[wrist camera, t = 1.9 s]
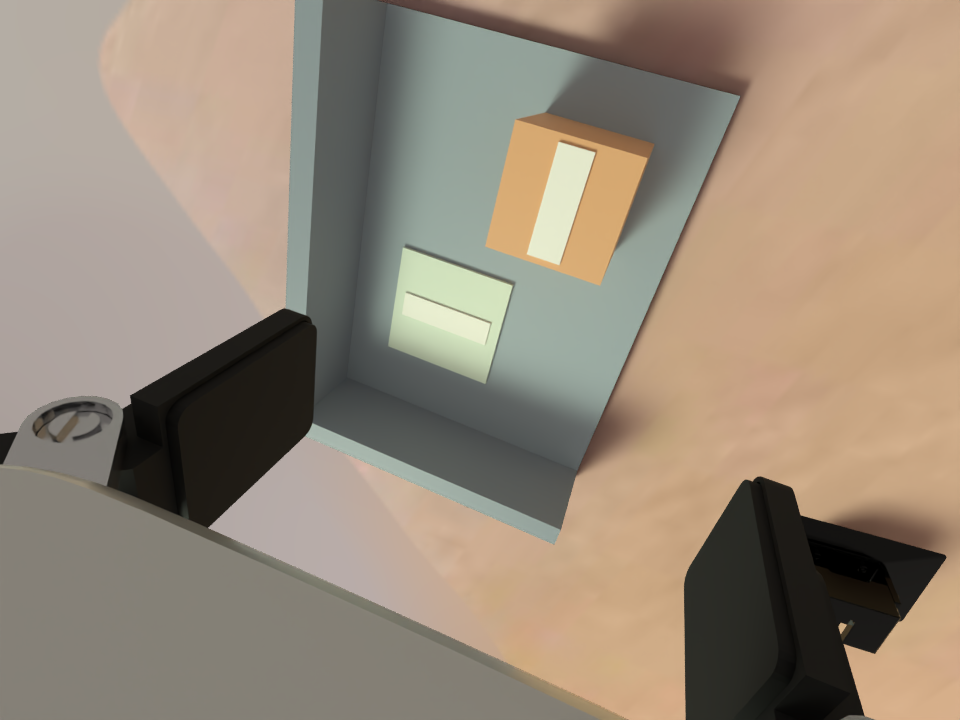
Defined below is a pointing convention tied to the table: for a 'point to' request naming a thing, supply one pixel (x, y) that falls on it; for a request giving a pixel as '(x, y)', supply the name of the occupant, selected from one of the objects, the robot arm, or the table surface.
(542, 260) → the cube
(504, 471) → the grey blue tray
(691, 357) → the table surface
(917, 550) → the black hollow angular block
